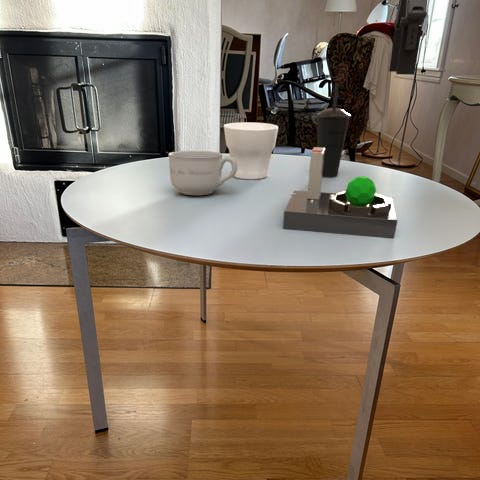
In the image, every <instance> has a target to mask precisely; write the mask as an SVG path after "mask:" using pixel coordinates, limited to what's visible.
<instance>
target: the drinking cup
mask: <svg viewBox="0 0 480 480" xmlns="http://www.w3.org/2000/svg"><path fill="white" fill-rule="evenodd" d="M338 92H339V82H335V84H334V94H333V104H332V107H330V108H326V109H323V110H321V111H319V112H317V113H316V117H317V147H320V148H325V153H324V163H323V173H322V178H336V177H338V174H339V169H340V165H341V160H342V154H343V150H344V144H345V140H346V136H347V130H348V125H349V121H350V118H351V117H352V115H351V114H350V113H348V111H347V112H346V111H345V110H344V109H341V108H338V107H337V100H338Z"/></svg>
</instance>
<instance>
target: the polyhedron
mask: <svg viewBox="0 0 480 480" xmlns="http://www.w3.org/2000/svg"><path fill="white" fill-rule="evenodd" d="M345 191H346V192H345V195H346V199H347V201H348V202H349V203H351V204H352V205H359V206H367V205H368V204H370V203H371V202H372V201H373V198H374V196H375V194H377V193H376V192H377V187H376V184H375V182H374V180H372V179H371V178H370V177H368V176H365V175H358V176H356V177H354V178H353V179H351V180H350V181H348V183H347V186H346V189H345Z"/></svg>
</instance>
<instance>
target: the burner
mask: <svg viewBox="0 0 480 480" xmlns="http://www.w3.org/2000/svg"><path fill="white" fill-rule="evenodd" d="M345 192H346V190H344V191H340V192H339V191H338V192H332V193H333V195H330V199H329V208H330V209H331V210H332V211H334V212H337V213H340V214H343V215H348V216H354V217H379V216H383V215H386V214H388V213H389V211H390V209H391V200H390V199H387V197H388V196H384V195H382V194H378V193H375V196H374V198H373V201H372V202H371V203H370V204H368V205H367V206H359V205H352V204H351V203H349V202H348V201H347V199H346V195H345Z"/></svg>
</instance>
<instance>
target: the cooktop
mask: <svg viewBox="0 0 480 480" xmlns="http://www.w3.org/2000/svg"><path fill="white" fill-rule="evenodd" d="M333 193H334V192H322V191H321V192H320V196H319V199H307V194H308V190H293V192H288V195H290V198H289V200H288V202H287V204H286V206H285V209H284V211H283V223H282V224H283V225H282V229H284V230H295V231H308V232H318V233H319V232H320V233H329V234H330V233H331V234H343V235H353V236H354V235H355V236H366V237H377V238H387V239H395V236H396V231H397V225H398V218H397V217H398V216H397V213H396V208H395V204H394V200H393V197H389V196H386V197H387V199H390V200H391V209H390V211H389V213H388V214H386V215H383V216H379V217H354V216H348V215H343V214H340V213H337V212H334V211H332V210H331V209H330V208H329V199H330V195H333Z"/></svg>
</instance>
